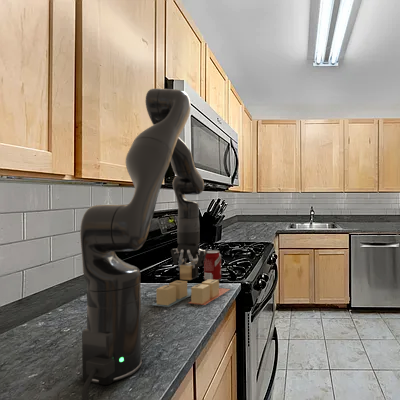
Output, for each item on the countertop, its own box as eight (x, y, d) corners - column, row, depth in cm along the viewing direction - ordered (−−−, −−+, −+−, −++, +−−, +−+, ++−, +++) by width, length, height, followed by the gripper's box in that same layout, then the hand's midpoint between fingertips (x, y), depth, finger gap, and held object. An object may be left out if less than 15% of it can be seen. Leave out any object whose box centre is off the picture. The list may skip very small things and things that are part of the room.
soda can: (211, 283, 122) (210, 253, 122) (200, 280, 126) (200, 251, 126) (224, 279, 127) (224, 251, 127) (214, 277, 131) (214, 249, 131)
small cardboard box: (190, 280, 108) (190, 265, 108) (179, 279, 109) (179, 265, 109) (197, 277, 112) (197, 263, 112) (187, 276, 114) (187, 262, 114)
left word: (168, 307, 96) (168, 290, 96) (151, 305, 98) (151, 289, 98) (201, 290, 113) (201, 276, 113) (186, 289, 115) (186, 274, 115)
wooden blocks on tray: (204, 305, 98) (204, 289, 98) (187, 303, 99) (187, 287, 99) (230, 289, 114) (230, 275, 114) (215, 288, 116) (215, 274, 116)
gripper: (164, 230, 109) (164, 279, 109) (199, 232, 105) (200, 281, 105) (178, 228, 116) (178, 274, 116) (211, 229, 113) (211, 276, 113)
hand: (188, 277), depth 111 cm, fingers closed on small cardboard box, 4 cm apart
